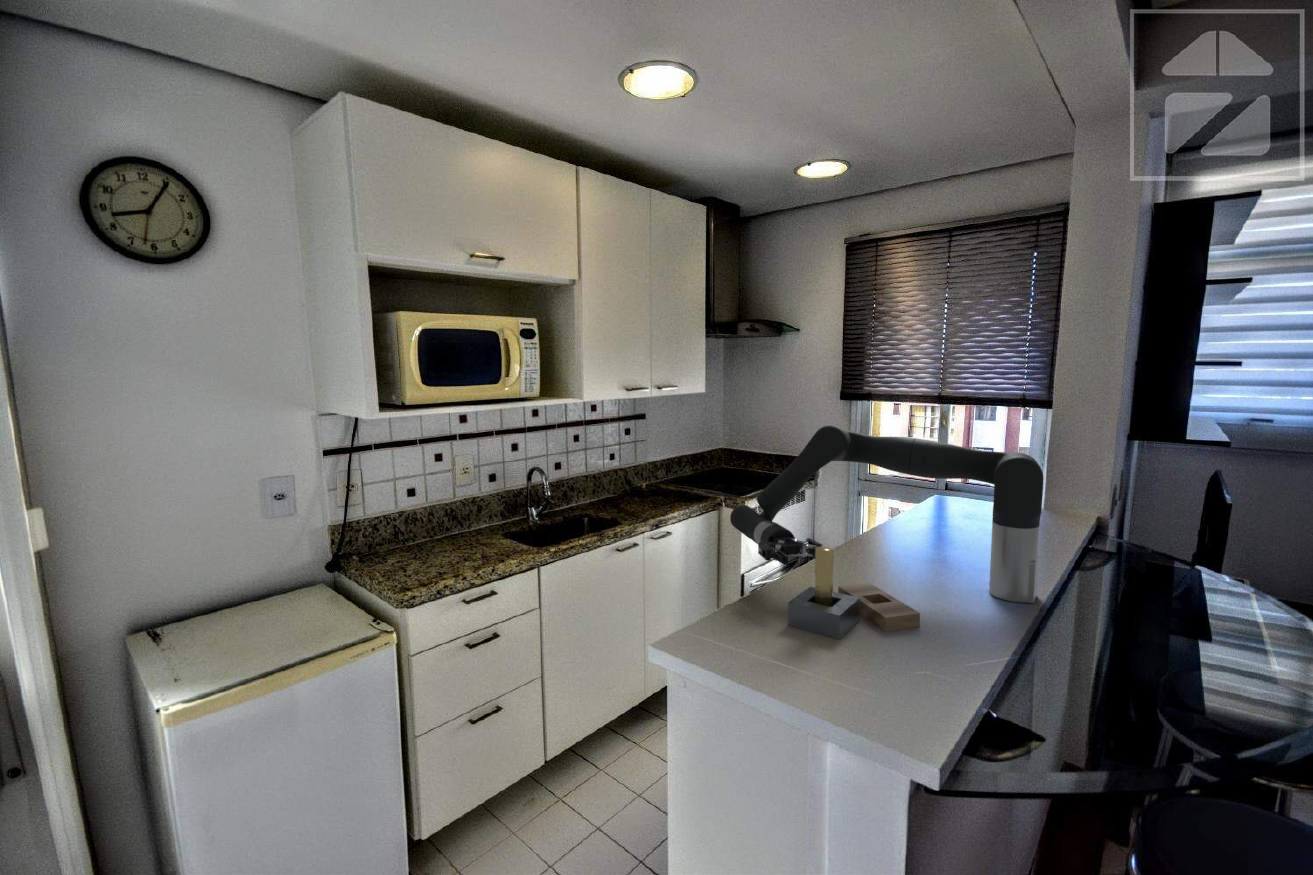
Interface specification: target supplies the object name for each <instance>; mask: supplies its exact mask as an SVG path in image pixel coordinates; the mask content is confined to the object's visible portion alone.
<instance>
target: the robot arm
mask: <svg viewBox="0 0 1313 875" xmlns="http://www.w3.org/2000/svg"><path fill="white" fill-rule="evenodd" d="M830 462H851V463H862V464H869V465H873V466H876V467H879V468H882V469H885V470H888V471H892V472H896V473H899V474H903V475H908V476H913V477H920V478H926V479H941V480H942V479H943V480H952V479H954V480H955V479H958V480H960V479H961V480H962V479H963V480H972V481H978V482H982V483H987V484H990V485H993V502H992V503H993V506H992V522H991V523H992V524H991V540H990V541H991V544H990V563H989V564H990V566H989V568H990V569H989V582H988V583H989V584H988V585H989V587H988V588H989V589H988V592H989V594H990V595H992V596H994V597H995V598H998V599H1001V600H1004V601H1007V602H1012V603H1013V602H1014V603H1029V604H1035V601H1036V598H1037V595H1038V580H1039V578H1038V577H1039V561H1040V556H1039V544H1040V543H1039V539H1040V538H1039V537H1040V524H1041V523H1040V522H1041V516H1042V507H1043V497H1044V496H1043V493H1044V474H1043V473H1044V472H1043V470H1042V468H1041V466H1040V464H1039V462H1038V461H1037V460H1036V459H1035V458H1034V457H1033V456H1031V455H1029V454H1026V453H1023V452H1011V451H1010V452H1007V451H991V450H990V451H989V450H978V449H972V448H967V447H965V446H964V447H963V446H960V445H955V444H951V443H945V442H940V441H936V440H935V441H934V440H929V439H923V438H916V437H907V436H875V435H868V434H864V433H859V432H855V431H851V430H847V429H844V428H841V427H839V426H837V425H833V424H832V425H825V426H821V427H820V428H818V429H817V431H815V433H814V435H813V436H812V437H811V438H810V439H809V441H808V442H807V444H806V445H805V446H804V448H803V450H801V452H799V454H798V455H797V456H796V458H794V460H792V462H791V463H790V464H789V465H788V466H787V467H786V468H785V469H784V470H783V471H782V472H781V473H780V474H779V475H778V476H776V478H775V479H773V480H772V481H771V482H770V483H769V484H768V485H767V486H766V487H765V488H764V489H763V490H762V491H761V492H760V493H759V494H758V495H757V497H756V501H757V502H756V503H758V504H757V505H759V507H760V508H761V509H762V512H761V513H758V512H757V511H755V509H753V508H752V507H750V506H749V505H747V504H740V505H737V506H735V508H734V507H733V509H732V511H731V512H730V518H729V519H730V523H731V525H732V527H734V528H735V529H736V530H738V532H740V533H741V534H743V535H744V536H745V537H747V538H748V539H749V540H752V542H754V543H755V544H756V545H757V547H758V548H757V550H758V551H757V552H758V555H760V557H762V558H763V559H764V560H765V561H767V562H768V561H771V560H773V561H775V562H779V563H780V564H783V565H784V566H788V565H789V556H792V557H794V556H798V557H801V558H806V557H807V556H808V557H811V558H813V559H815V548H816V547H823V544H822V543H820V542H818V541H816V540H814V539H811V538H809V537H808V538H806V539H805V540H806V541H803V540H799V539H797V538H796V537H795V536H794V534H793V532H792V531H791V530H789V529H787V528H786V527H784V526H782V525H781V524H779V523H778V522H774V521H773V520H774V518H775V517H776V516H777V514H778V513H779V512H780V511H781V510H782V509H784V507H785V506H786V505H787V504H789V503H790V501H792V500H793V499H794V498H795V496H796V495H797V494H798V493H799V492H800V491H801V489H802V488H803V487H804V485H805V484H806V483H807V482H808V481H809V480H810V478H811V477H813V475H814V474H816V473H817V472H819V470H821V469H822V468H823V467H824V466H827V465H828V464H829V463H830Z"/></svg>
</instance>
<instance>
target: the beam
mask: <svg viewBox="0 0 1313 875" xmlns="http://www.w3.org/2000/svg"><path fill="white" fill-rule="evenodd" d="M837 588H838V590H837V591H838V592H837V593H841V594H845V595H849V596H854V597H858V598H860V599H859V615H861V616H862V617H864V618H865V619H867V620H868V621H869V622H871V623H872V624H874V625H875V626H876V627H878V628H879V629H880V630H882V631H883V632H885V633H886V632H895V631H901V630H909V629H915V628H920V626H921V624H920V623H921V613H920V612H919V611H917V610H916V609H914V608H912V607H910V606H909V605H908V604H905V603H904V602H902V601H901V600H899V599H898V598H895V597H894V596H892V595H891V594H889V593H887V592H886V591H884V590H883V589H881V588H879V587H878V586H875V585H874V584H872V583H871V582H861V583H860V582H859V583H852V584H844V585H843V584H842V585H838V587H837Z"/></svg>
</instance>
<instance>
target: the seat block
mask: <svg viewBox="0 0 1313 875" xmlns="http://www.w3.org/2000/svg"><path fill="white" fill-rule="evenodd" d="M859 599H860V598H858V597H854V596H849V595H845V594H841V593H838V592H835V591H833V607H828V606H824V605H820V604H816V603H815V586H809V587H808V588H806V589H804V591H802V592H800V593H799V594H798V595H796V596H795V597H794V598H792V599H791V600H790V601H789V602H787V604H788V607H787V608H788V610H787V611H788V612H787V615H788V616H787V619H788V622H787V626H789V627H793V628H797V629H801V630H804V631H807V632H811V633H814V634H817V635H822V636H825V637H829V638H832V639H834V640H838V641H839V640H842V638H843V637H844V636H845V635H846V634H847V633H848V632H849V631H850V630H851V629H852V628H853V627H854V626H855V625H856V624H857V623H858V622H859V621H860V613H859Z"/></svg>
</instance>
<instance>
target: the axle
mask: <svg viewBox="0 0 1313 875" xmlns="http://www.w3.org/2000/svg"><path fill="white" fill-rule="evenodd" d="M814 559H815V560H814V561H815V562H814V564H815V567H814V576H815V577H814V578H815V579H814V583H815V584H814V587H815V603H816V604H820V605H824V606H828V607H833V592H834V548H833V547H830V546H822V547H816V548H815V558H814Z"/></svg>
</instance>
